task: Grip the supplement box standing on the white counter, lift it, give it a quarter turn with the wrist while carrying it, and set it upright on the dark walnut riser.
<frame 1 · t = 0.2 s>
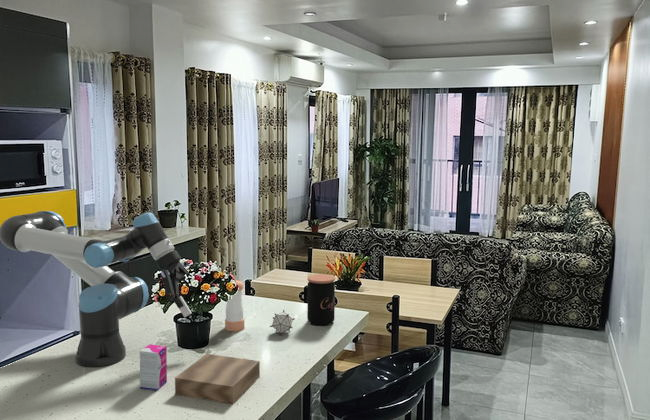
hand: (199, 309, 183), 15 cm above the kitchen island, tool tilted 35°, fingers open, 13 cm apart
pepper shaker: (234, 328, 209), on the kitchen island
supplement box: (154, 386, 161), on the kitchen island
coffee jar: (320, 322, 217), on the kitchen island
spiky geometric ball: (282, 333, 205), on the kitchen island
walnut riser: (219, 385, 162), on the kitchen island
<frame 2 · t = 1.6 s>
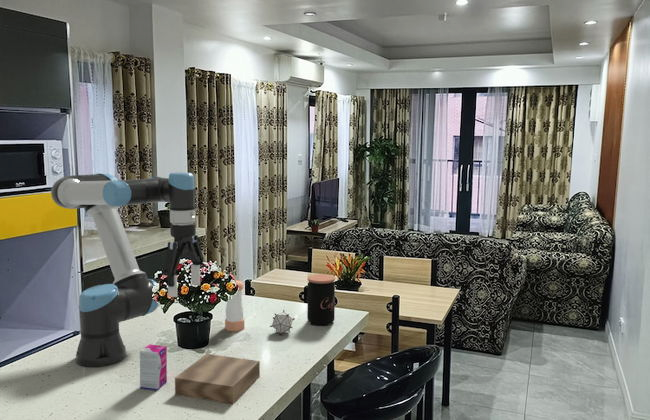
hand: (184, 290, 171), 25 cm above the kitchen island, tool pointing down, fingers open, 13 cm apart
nothing on the kitchen island moved.
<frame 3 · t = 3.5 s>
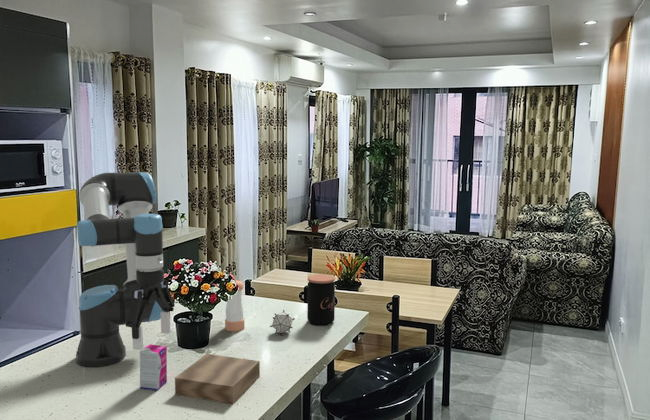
hand: (152, 340, 159), 14 cm above the kitchen island, tool pointing down, fingers open, 13 cm apart
nothing on the kitchen island moved.
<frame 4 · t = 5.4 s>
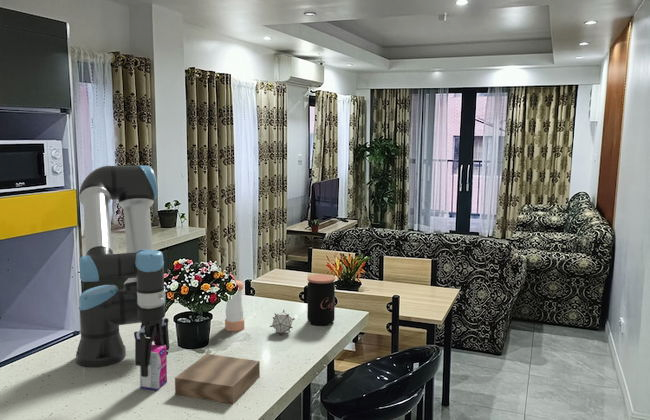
hand: (153, 380, 161), 1 cm above the kitchen island, tool pointing down, fingers closed on supplement box, 6 cm apart
supplement box: (154, 386, 161), on the kitchen island, touching gripper
everything else where it was.
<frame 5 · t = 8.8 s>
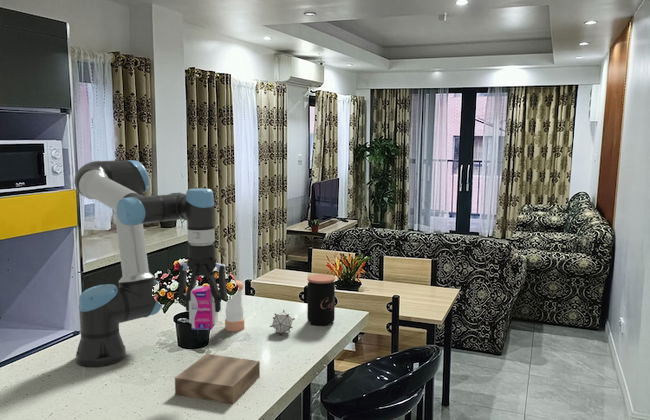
hand: (203, 322, 158), 19 cm above the kitchen island, tool pointing down, fingers closed on supplement box, 6 cm apart
supplement box: (203, 327, 159), point 18 cm above the kitchen island, touching gripper
everything else where it was.
when the fingers open (8 cm above the kitchen island, at t = 12.0 s): supplement box drops 1 cm, resting on walnut riser.
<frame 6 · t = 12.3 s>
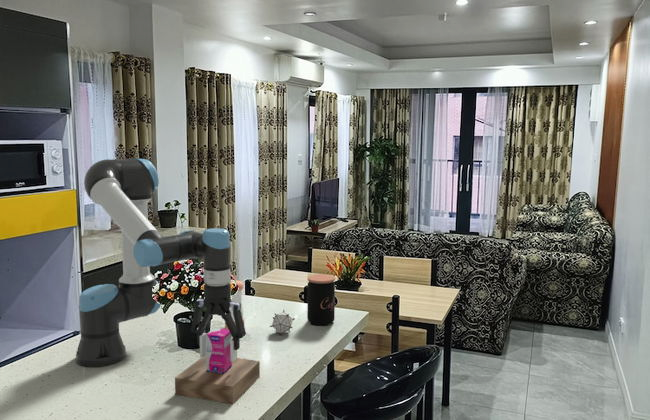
hand: (218, 357, 160), 9 cm above the kitchen island, tool pointing down, fingers open, 9 cm apart
supplement box: (219, 369, 161), point 5 cm above the kitchen island, touching walnut riser
everything else where it was.
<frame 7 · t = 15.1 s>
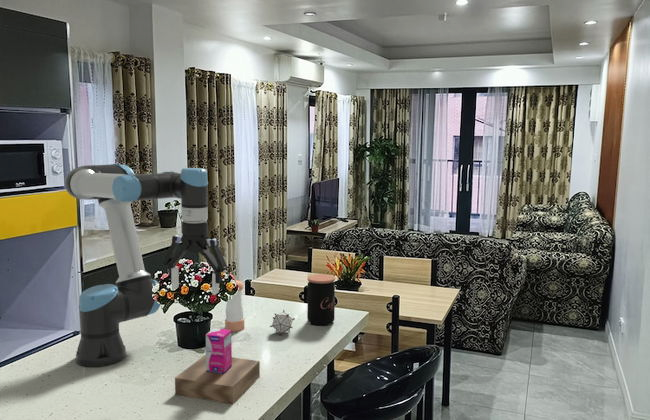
hand: (195, 290, 165), 27 cm above the kitchen island, tool pointing down, fingers open, 13 cm apart
nothing on the kitchen island moved.
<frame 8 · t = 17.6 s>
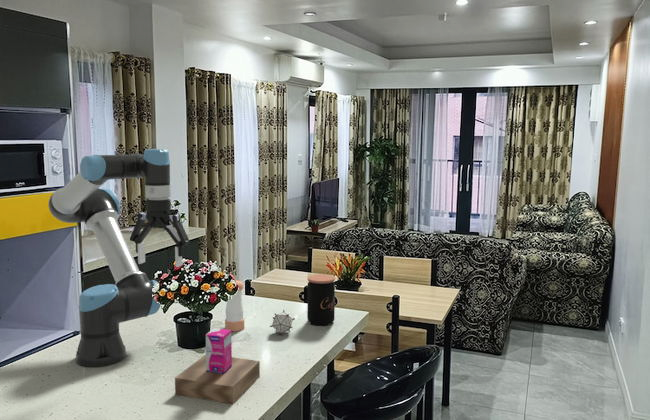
hand: (160, 264, 175), 32 cm above the kitchen island, tool pointing down, fingers open, 13 cm apart
nothing on the kitchen island moved.
at the end: supplement box inside the target area on the walnut riser (0.2 cm from its centre), point 4.8 cm above the walnut riser's base; supplement box tilted 0°; the gripper is holding nothing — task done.
